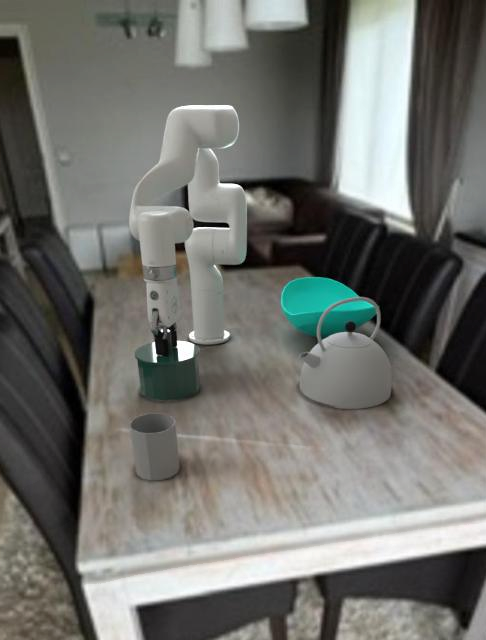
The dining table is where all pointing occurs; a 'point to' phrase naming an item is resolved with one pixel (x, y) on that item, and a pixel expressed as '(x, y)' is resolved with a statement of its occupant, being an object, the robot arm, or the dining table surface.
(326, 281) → the table top decor
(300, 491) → the dining table surface
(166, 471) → the cup
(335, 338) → the kettle
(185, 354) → the pot lid
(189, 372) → the pot
